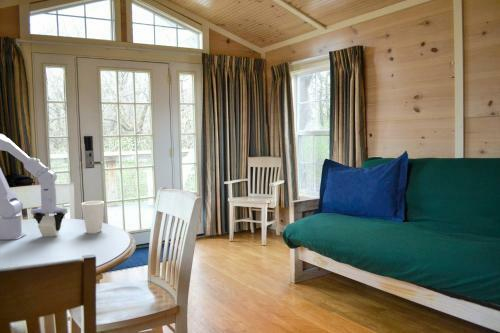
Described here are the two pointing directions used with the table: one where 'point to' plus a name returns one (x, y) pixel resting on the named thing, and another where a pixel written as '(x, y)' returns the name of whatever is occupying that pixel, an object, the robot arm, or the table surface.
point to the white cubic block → (48, 226)
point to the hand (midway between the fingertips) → (50, 230)
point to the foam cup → (93, 215)
